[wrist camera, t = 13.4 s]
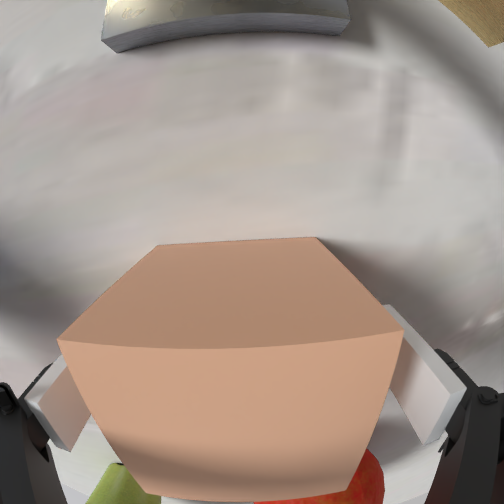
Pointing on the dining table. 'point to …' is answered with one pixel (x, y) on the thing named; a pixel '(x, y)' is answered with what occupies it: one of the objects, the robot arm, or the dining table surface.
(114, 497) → the plant pot
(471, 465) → the robot arm
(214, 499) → the peach tan cube
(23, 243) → the dining table surface
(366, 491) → the apple
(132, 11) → the grey square base plate
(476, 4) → the yellow t-shaped bar
